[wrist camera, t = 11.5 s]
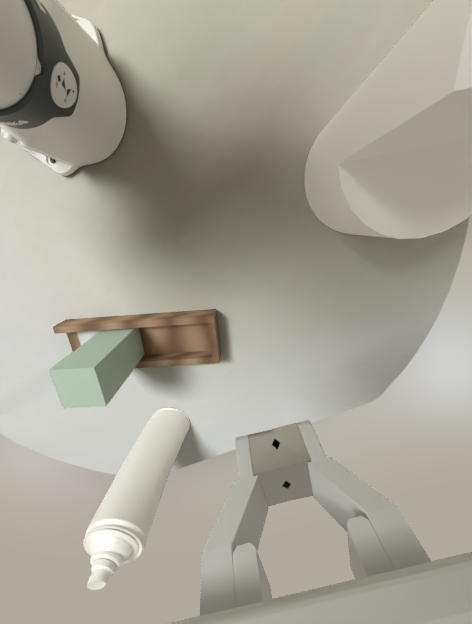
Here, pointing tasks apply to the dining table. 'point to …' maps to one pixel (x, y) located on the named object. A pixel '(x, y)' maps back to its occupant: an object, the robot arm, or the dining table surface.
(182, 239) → the dining table surface
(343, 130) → the cylinder
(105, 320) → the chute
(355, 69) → the dining table surface
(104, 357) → the block
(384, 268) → the dining table surface
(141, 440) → the spray can
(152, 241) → the dining table surface
